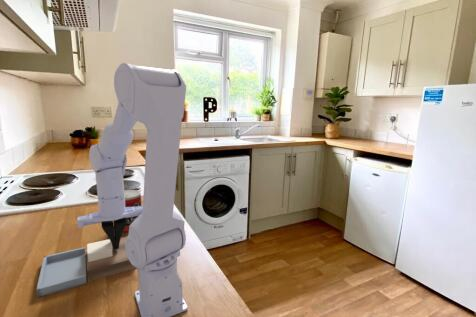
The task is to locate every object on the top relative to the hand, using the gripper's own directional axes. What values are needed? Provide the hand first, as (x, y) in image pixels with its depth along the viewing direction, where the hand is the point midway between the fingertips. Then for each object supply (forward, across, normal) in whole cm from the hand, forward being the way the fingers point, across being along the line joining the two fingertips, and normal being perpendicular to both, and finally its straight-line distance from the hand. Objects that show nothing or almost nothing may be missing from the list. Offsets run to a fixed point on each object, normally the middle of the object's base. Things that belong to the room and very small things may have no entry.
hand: (115, 247), depth 64 cm
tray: (+3, +11, 0) cm, 11 cm away
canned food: (+3, -6, -17) cm, 18 cm away
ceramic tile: (+1, +4, 0) cm, 4 cm away
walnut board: (+3, +1, 0) cm, 3 cm away
